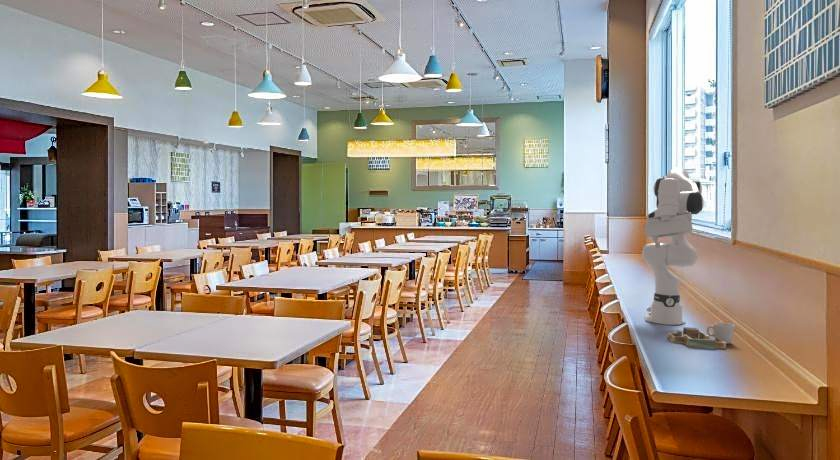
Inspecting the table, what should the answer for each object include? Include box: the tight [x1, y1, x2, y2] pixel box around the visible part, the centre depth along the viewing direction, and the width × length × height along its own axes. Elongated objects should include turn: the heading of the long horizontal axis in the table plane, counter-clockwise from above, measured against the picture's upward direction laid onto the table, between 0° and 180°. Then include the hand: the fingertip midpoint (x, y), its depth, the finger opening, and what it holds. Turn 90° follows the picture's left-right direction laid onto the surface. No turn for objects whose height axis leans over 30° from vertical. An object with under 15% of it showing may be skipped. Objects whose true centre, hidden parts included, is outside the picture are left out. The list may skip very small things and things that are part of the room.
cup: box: [706, 322, 736, 345], centre depth 276 cm, size 11×8×8 cm
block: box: [682, 326, 700, 339], centre depth 279 cm, size 5×5×5 cm
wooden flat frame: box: [666, 329, 727, 350], centre depth 272 cm, size 18×19×4 cm
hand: (667, 245), depth 269 cm, fingers open, 8 cm apart
